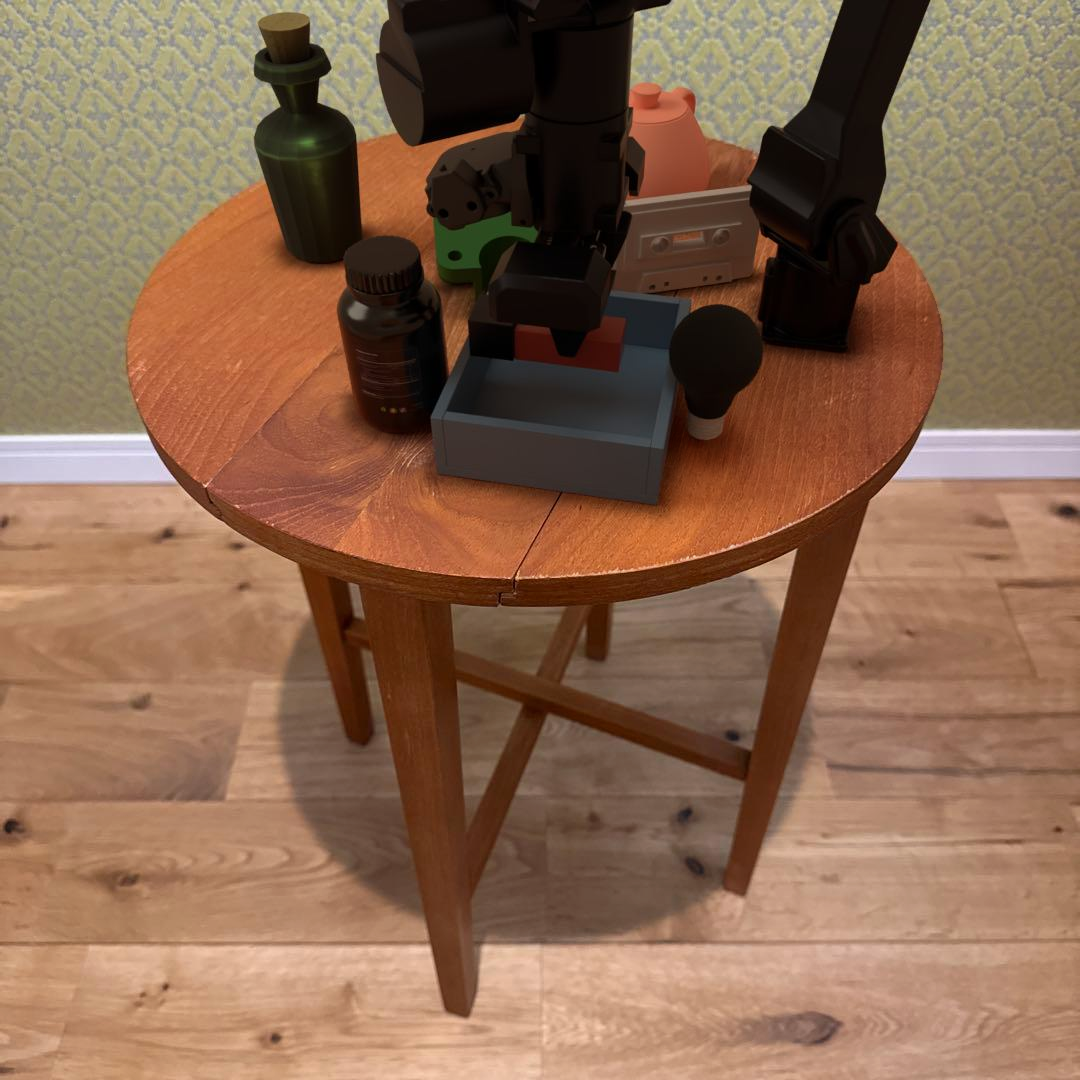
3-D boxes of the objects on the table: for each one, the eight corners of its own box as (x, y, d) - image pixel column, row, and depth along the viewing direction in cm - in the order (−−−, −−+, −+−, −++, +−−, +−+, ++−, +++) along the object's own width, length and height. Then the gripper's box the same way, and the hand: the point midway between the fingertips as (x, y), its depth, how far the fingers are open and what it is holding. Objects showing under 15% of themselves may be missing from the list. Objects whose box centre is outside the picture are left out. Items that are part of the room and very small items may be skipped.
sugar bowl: (545, 204, 89) (544, 90, 81) (636, 152, 96) (643, 42, 89) (653, 249, 83) (664, 130, 76) (741, 189, 91) (759, 76, 83)
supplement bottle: (363, 375, 71) (337, 224, 62) (456, 376, 71) (443, 225, 62) (347, 435, 66) (317, 282, 58) (446, 437, 66) (431, 283, 58)
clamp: (468, 348, 81) (416, 278, 73) (463, 294, 84) (412, 222, 76) (603, 299, 77) (563, 221, 70) (593, 245, 80) (554, 165, 73)
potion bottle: (344, 276, 80) (305, 47, 67) (259, 259, 82) (204, 33, 69) (388, 230, 86) (359, 9, 73) (307, 214, 88) (264, -3, 75)
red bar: (624, 346, 65) (627, 311, 63) (617, 374, 63) (620, 339, 61) (481, 328, 67) (479, 293, 65) (469, 355, 65) (467, 320, 63)
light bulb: (686, 476, 64) (704, 349, 56) (644, 423, 67) (656, 298, 60) (762, 452, 65) (789, 326, 58) (717, 402, 69) (737, 277, 62)
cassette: (746, 268, 81) (760, 180, 76) (754, 279, 80) (770, 191, 74) (608, 287, 79) (613, 198, 74) (615, 299, 78) (620, 210, 72)
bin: (685, 354, 73) (692, 298, 69) (657, 505, 62) (663, 448, 58) (496, 331, 75) (494, 276, 71) (436, 474, 64) (430, 417, 60)
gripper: (476, 30, 60) (487, 256, 72) (381, 166, 48) (413, 414, 59) (654, 43, 59) (637, 272, 70) (604, 187, 46) (593, 438, 57)
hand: (571, 341), depth 64 cm, fingers closed on red bar, 3 cm apart
